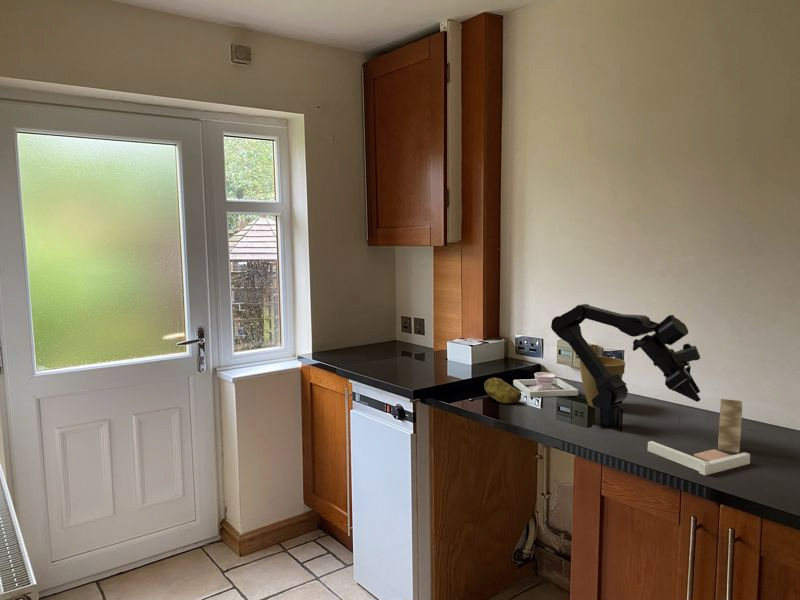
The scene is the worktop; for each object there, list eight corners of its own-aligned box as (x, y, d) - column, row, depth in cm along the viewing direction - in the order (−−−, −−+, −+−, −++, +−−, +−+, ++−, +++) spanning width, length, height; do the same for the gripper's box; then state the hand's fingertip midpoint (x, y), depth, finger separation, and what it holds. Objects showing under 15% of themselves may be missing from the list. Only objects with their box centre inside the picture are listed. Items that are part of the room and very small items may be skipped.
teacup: (567, 391, 221) (567, 375, 221) (545, 396, 215) (545, 379, 214) (543, 385, 231) (543, 369, 231) (521, 389, 225) (521, 373, 224)
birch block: (718, 449, 160) (721, 403, 159) (718, 444, 165) (720, 398, 163) (739, 452, 158) (742, 405, 157) (738, 446, 162) (741, 401, 161)
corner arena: (644, 451, 159) (645, 442, 159) (688, 441, 166) (688, 433, 166) (704, 475, 143) (705, 465, 143) (749, 463, 150) (750, 454, 150)
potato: (508, 407, 200) (508, 384, 199) (480, 399, 210) (480, 377, 209) (523, 403, 205) (524, 380, 205) (495, 395, 215) (495, 374, 214)
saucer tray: (529, 397, 213) (530, 391, 213) (513, 384, 231) (513, 379, 231) (578, 395, 215) (578, 390, 215) (557, 383, 234) (558, 378, 233)
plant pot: (581, 411, 196) (582, 364, 194) (575, 399, 211) (576, 355, 209) (628, 413, 194) (629, 365, 192) (618, 400, 208) (620, 356, 207)
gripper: (682, 341, 156) (725, 387, 153) (683, 330, 173) (722, 372, 169) (648, 366, 161) (689, 412, 157) (652, 353, 177) (689, 394, 174)
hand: (698, 396), depth 164 cm, fingers open, 9 cm apart
